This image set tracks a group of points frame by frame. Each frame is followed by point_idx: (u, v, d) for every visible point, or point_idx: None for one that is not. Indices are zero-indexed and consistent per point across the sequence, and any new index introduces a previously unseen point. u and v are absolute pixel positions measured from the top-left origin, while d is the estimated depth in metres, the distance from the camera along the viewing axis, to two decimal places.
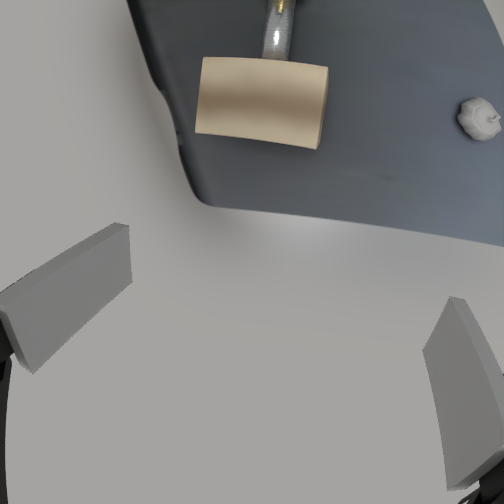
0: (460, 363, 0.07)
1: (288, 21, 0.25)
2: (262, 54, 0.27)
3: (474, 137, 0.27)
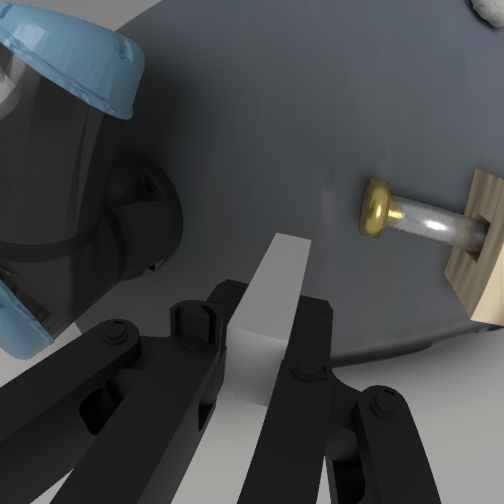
0: None
1: (432, 212, 0.22)
2: (464, 247, 0.23)
3: None
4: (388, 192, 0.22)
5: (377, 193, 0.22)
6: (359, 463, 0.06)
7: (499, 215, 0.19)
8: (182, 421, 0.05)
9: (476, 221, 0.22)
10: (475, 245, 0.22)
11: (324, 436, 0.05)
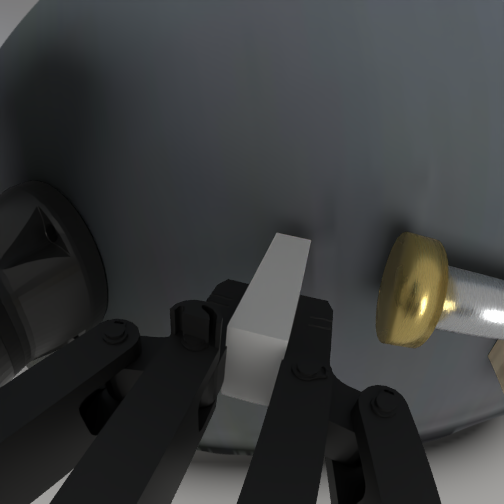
0: None
1: None
2: None
3: None
4: (443, 271, 0.10)
5: (423, 276, 0.10)
6: (359, 463, 0.06)
7: None
8: (182, 421, 0.05)
9: None
10: None
11: (324, 436, 0.05)
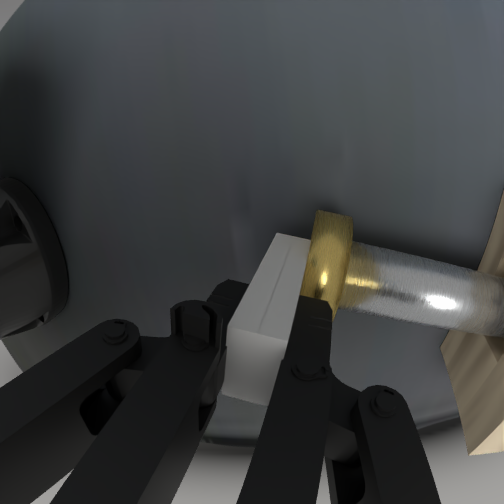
0: None
1: (440, 280, 0.11)
2: (490, 335, 0.11)
3: None
4: (344, 246, 0.11)
5: (319, 250, 0.11)
6: (359, 463, 0.06)
7: None
8: (182, 421, 0.05)
9: None
10: None
11: (324, 436, 0.05)
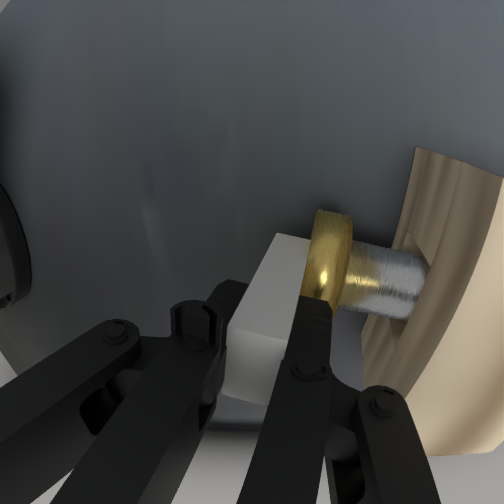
0: None
1: None
2: None
3: None
4: (344, 245, 0.11)
5: (319, 249, 0.11)
6: (359, 463, 0.06)
7: (448, 252, 0.09)
8: (182, 421, 0.05)
9: None
10: None
11: (324, 436, 0.05)
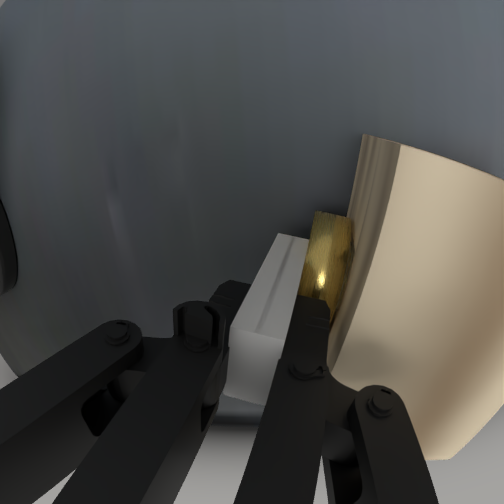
0: None
1: None
2: None
3: None
4: (342, 247, 0.11)
5: (317, 251, 0.11)
6: (356, 463, 0.06)
7: (365, 235, 0.09)
8: (185, 422, 0.05)
9: None
10: None
11: (321, 435, 0.05)
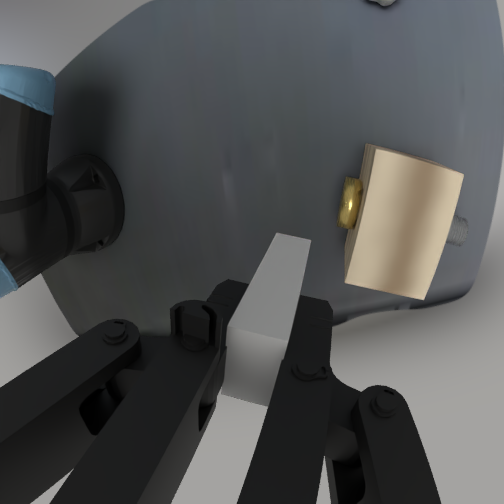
0: None
1: None
2: None
3: None
4: (358, 188, 0.26)
5: (349, 189, 0.26)
6: (359, 463, 0.06)
7: (366, 180, 0.24)
8: (182, 421, 0.05)
9: None
10: None
11: (324, 436, 0.05)
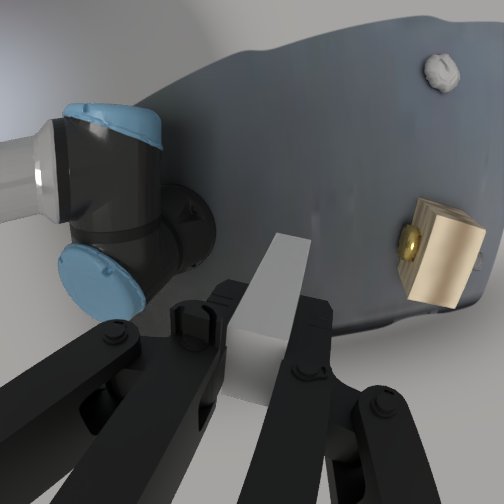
0: None
1: None
2: None
3: (458, 81, 0.29)
4: (418, 235, 0.37)
5: (412, 236, 0.37)
6: (359, 463, 0.06)
7: (425, 231, 0.35)
8: (182, 421, 0.05)
9: None
10: None
11: (324, 436, 0.05)
